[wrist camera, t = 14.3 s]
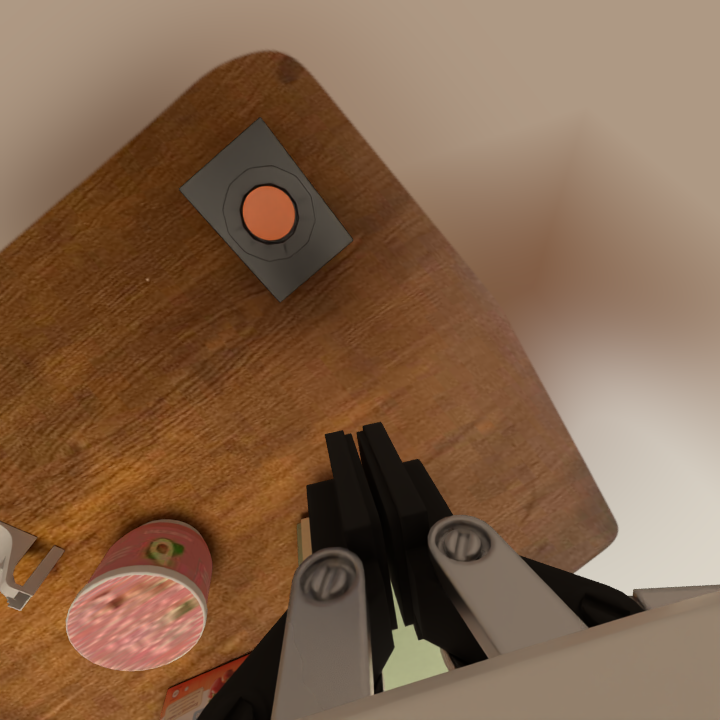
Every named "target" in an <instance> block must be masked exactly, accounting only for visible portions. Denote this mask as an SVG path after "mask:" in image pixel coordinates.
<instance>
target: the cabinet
mask: <svg viewBox="0 0 720 720" xmlns="http://www.w3.org/2000/svg"><path fill="white" fill-rule="evenodd" d="M297 539H298V564H299V565H300V564H301V562H302V561H303V554H302V535H301V523H299V524H297ZM390 581H391V580H390ZM391 587H392V584H391ZM392 593H393V600H394V606H395V612H396V618H397V624H398V629H396V630H392V634H393V640H394V646H395V648H394V650H393V652H392V654H391V655H390V657H389V659H388V661H387V663H386V665H385V666H384V668H383V675H384V681H385V691H388V690H391V689H394V688H397V687H400V686H403V685H407V684H410V683H413V682H416V681H419V680H423V679H426V678H429V677H432V676H435V675H439V674H442V673H445V672H448V671H449V670H448V669H447V667H446V665H445V663H444V661H443V658H442V655H441V653H440V648H439V647H438V646H436V645H434V644H432V643H430V642H428V641H426V640H424V639H422V640H419V641H418V638H417V635H416V632H415V629H414V626H413V625H409V626H406V627H405V625H404V623H403V619H402V616H401V613H400V610H399V606H398V603H397V600H396V597H395V593H394V590H393V587H392Z"/></svg>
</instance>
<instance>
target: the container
mask: <svg viewBox="0 0 720 720" xmlns="http://www.w3.org/2000/svg"><path fill="white" fill-rule="evenodd" d="M211 575H212V559H211V555H210V552H209V549H208V547H207V544H206V542H205V541H204V540H203V537H202V536H201V534H200V533H199V532H198V531H197V530H196V529H195V528H194V527H192V526H190V525H188V524H187V523H184V522H181V521H177V520H171V519H162V520H155V521H152V522H148V523H146V524H144V525H142V526H140V527H138V528H136V529H134V530H132V531H130V532H129V533H127V534H126V535H125V536H123V537H122V538H121V539H119V540H118V541H117V542H115V543H114V545H113V546H112V547H111V548H110V549H109V550H108V552H107V554H106V555H105V557H104V558H103V560H102V561H101V563H100V564H99V566H98V568H97V569H96V571H95V572H94V574H93V575H92V577H91V578H90V580H89V582H88V583H87V585H85V586H84V588H83V589H82V590H81V591H80V592H79V593H78V594H77V596H76V598H75V600H74V601H73V603H72V605H71V607H70V609H69V610H68V614H67V619H66V632H67V635H68V637H69V640H70V642H71V644H72V645H73V646H74V648H75V649H76V650H77V651H78V652H79V653H80V654H81V655H82V656H83V657H85V658H86V659H88V660H90V661H91V662H93V663H95V664H98V665H100V666H103V667H106V668H110V669H115V670H123V671H139V670H147V669H152V668H157V667H160V666H163V665H166V664H169V663H171V662H173V661H175V660H177V659H178V658H180V657H181V656H183V655H184V654H186V653H187V652H188V651H189V650H190V649H191V648H192V647H193V646H194V645H195V644H196V643H197V641H198V640H199V638H200V637H201V635H202V633H203V630H204V627H205V624H206V619H207V600H208V593H209V587H210V581H211Z"/></svg>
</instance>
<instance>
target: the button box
mask: <svg viewBox="0 0 720 720" xmlns="http://www.w3.org/2000/svg"><path fill="white" fill-rule="evenodd" d="M262 186H272V187H275V188H278V189H280V190H282V191H283V192H284V193H285V194H286V195H287V196H288V197H289V198H290V200H291V201H292V203H293V206H294V210H295V221H294V224H293V227H292V229H291V230H290V232H289V233H288V234H287V235H286V236H284V237H283V238H280V239H277V240H264V239H261V238H259V237H257V236H256V235H254V234H253V233H252V232H251V231H250V230H249V228H248V227H247V225H246V223H245V221H244V218H243V205H244V201H245V199H246V197H247V196H248V194H249V193H250V192H251V191H253V190H254V189H256V188H258V187H262ZM179 190H180V192H181V193H182V194H183V195H184V196H185V197H186V198H187V199H188V200H189V202H190V203H191V204H192V205H193V206H194V207H195V208H196V209H197V211H198V212H199V213H200V214H201V215H202V216H203V217H204V218H205V219H206V221H207V222H208V223H209V224H210V225H211V226H212V227H213V228H214V230H215V231H216V232H217V233H218V234H219V235H220V236H221V237H222V238H223V240H224V241H225V242H226V243H227V244H228V245H229V246H230V247H231V249H232V250H233V251H234V252H235V253H236V254H237V255H238V256H239V258H240V259H241V260H242V261H243V262H244V263H245V264H246V265H247V266H248V268H249V269H250V270H251V271H252V272H253V273H254V274H255V275H256V277H257V278H258V279H259V280H260V281H261V282H262V283H263V284H264V285H265V287H266V288H267V289H268V290H269V291H270V292H271V293H272V294H273V296H274V297H275V298H276V299H277V300H278V301H279V302H281V301H283V300H284V299H285V298H286V297H287V296H289V295H290V294H291V293H292V292H293V291H294V290H296V289H297V288H298V287H299V286H300V285H302V284H303V283H304V282H305V281H306V280H307V279H309V278H310V277H311V276H312V275H313V274H314V273H316V272H317V271H318V270H319V269H320V268H322V267H323V266H324V265H325V264H326V263H327V262H329V261H330V260H331V259H332V258H333V257H335V256H336V255H337V254H338V253H339V252H340V251H342V250H343V249H344V248H345V247H346V246H347V245H349V244H350V243H351V242H352V241H353V239H352V237H351V236H350V235H349V233H348V232H347V231H346V229H345V228H344V227H343V225H342V224H341V223H340V221H339V220H338V219H337V218H336V216H335V215H334V214H333V212H332V211H331V210H330V208H329V207H328V206H327V204H326V203H325V202H324V200H323V199H322V198H321V196H320V195H319V194H318V192H317V191H316V190H315V188H314V187H313V186H312V184H311V183H310V182H309V180H308V179H307V178H306V176H305V175H304V174H303V173H302V171H301V170H300V169H299V167H298V166H297V165H296V163H295V162H294V161H293V159H292V158H291V157H290V155H289V154H288V153H287V151H286V150H285V149H284V147H283V146H282V145H281V143H280V142H279V141H278V139H277V138H276V137H275V135H274V134H273V133H272V132H271V130H270V129H269V128H268V126H267V125H266V124H265V122H264V121H263V120H262V118H261V117H259V118H258V119H257V120H256V121H255V122H254V123H252V124H251V125H250V126H249V127H248V128H247V129H246V130H245V131H243V132H242V133H241V134H240V135H239V136H238V137H237V138H235V139H234V140H233V141H232V142H231V143H230V144H229V145H228V146H226V147H225V148H224V149H223V150H222V151H221V152H220V153H219V154H217V155H216V156H215V157H214V158H213V159H212V160H211V161H209V162H208V163H207V164H206V165H205V166H204V167H203V168H202V169H200V170H199V171H198V172H197V173H196V174H195V175H194V176H193V177H191V178H190V179H189V180H188V181H187V182H186V183H185V184H183V185H182V186H181V187H180V188H179Z"/></svg>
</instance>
